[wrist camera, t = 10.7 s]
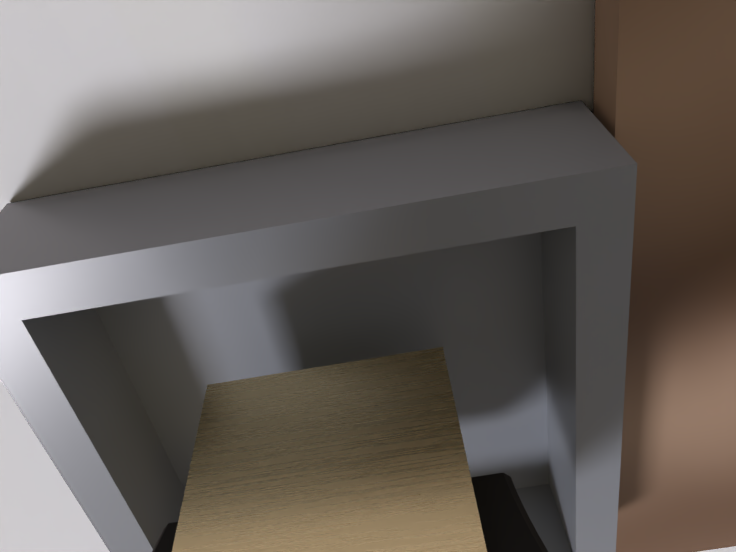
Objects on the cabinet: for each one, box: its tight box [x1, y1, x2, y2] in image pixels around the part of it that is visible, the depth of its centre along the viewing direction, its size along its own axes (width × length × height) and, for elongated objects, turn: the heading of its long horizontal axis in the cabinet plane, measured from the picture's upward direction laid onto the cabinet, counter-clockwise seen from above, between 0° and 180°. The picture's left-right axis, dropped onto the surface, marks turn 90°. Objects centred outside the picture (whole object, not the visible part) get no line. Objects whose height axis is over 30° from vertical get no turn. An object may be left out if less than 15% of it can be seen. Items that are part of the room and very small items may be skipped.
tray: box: [0, 101, 637, 552], centre depth 13 cm, size 10×10×2 cm
